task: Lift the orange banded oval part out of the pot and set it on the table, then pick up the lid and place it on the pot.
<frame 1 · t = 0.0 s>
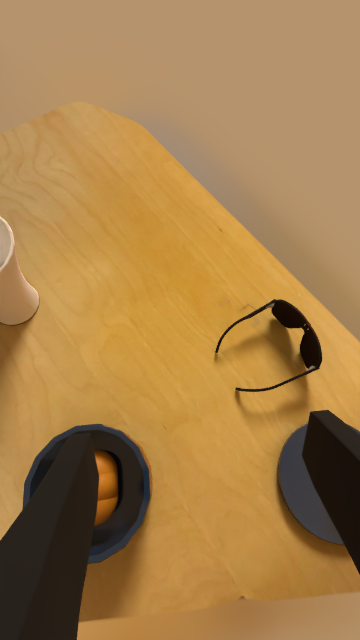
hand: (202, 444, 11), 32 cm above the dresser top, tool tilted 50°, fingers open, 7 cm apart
sunglasses: (261, 353, 45), on the dresser top
pot: (99, 484, 38), on the dresser top
lid: (333, 477, 39), point 1 cm above the dresser top
orange banded oval part: (98, 484, 38), resting on pot
cup: (16, 304, 47), on the dresser top
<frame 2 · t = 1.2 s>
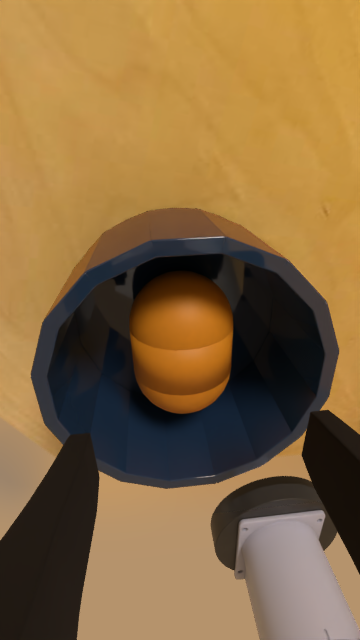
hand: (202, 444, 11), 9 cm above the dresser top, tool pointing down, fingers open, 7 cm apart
pot: (176, 317, 19), on the dresser top
orange banded oval part: (177, 321, 19), resting on pot
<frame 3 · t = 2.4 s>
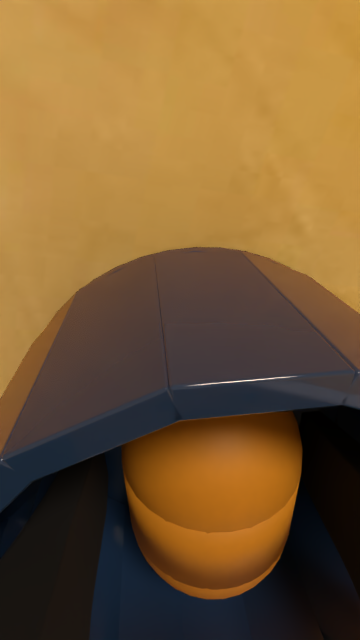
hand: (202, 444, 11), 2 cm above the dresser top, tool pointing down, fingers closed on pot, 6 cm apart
pot: (195, 404, 13), on the dresser top
orange banded oval part: (197, 413, 12), resting on pot
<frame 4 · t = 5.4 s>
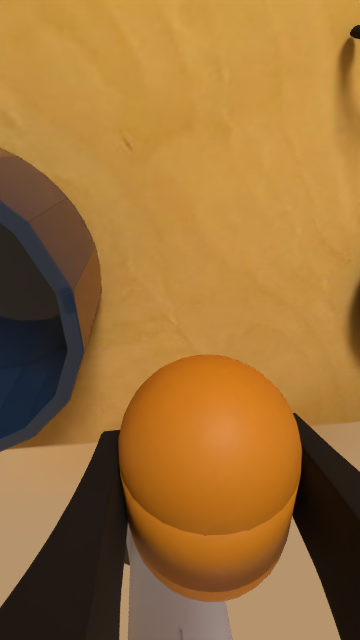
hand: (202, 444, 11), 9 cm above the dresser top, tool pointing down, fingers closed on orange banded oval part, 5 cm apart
orange banded oval part: (195, 413, 12), point 8 cm above the dresser top, touching gripper
when the fingers open (1 cm above the dresser top, at t = 8.0 s): orange banded oval part stays where it is, on the dresser top.
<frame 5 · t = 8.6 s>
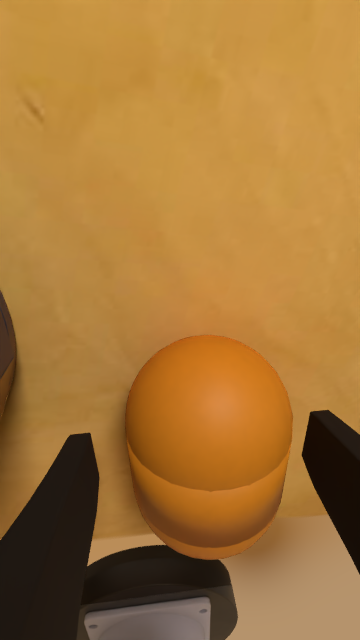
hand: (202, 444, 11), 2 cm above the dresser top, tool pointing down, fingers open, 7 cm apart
orange banded oval part: (192, 394, 13), on the dresser top
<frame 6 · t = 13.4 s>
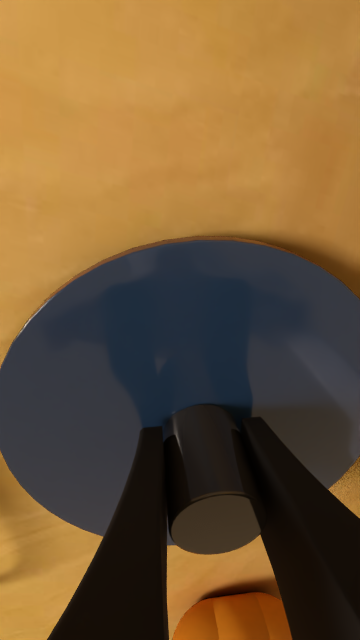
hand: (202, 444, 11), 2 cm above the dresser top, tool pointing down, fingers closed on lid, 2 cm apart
lid: (197, 422, 12), point 1 cm above the dresser top, touching gripper
orange banded oval part: (229, 611, 19), on the dresser top, tilted 21°
when the fingers open (7 cm above the dresser top, at t = 18.1 s): lid stays where it is, resting on pot.
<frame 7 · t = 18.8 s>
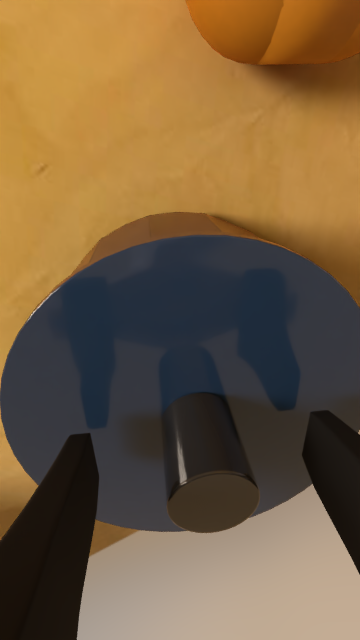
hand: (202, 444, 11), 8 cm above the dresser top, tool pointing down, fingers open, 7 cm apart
pot: (178, 327, 18), on the dresser top
lid: (194, 410, 12), point 6 cm above the dresser top, touching pot
orange banded oval part: (274, 43, 12), point 1 cm above the dresser top, tilted 38°
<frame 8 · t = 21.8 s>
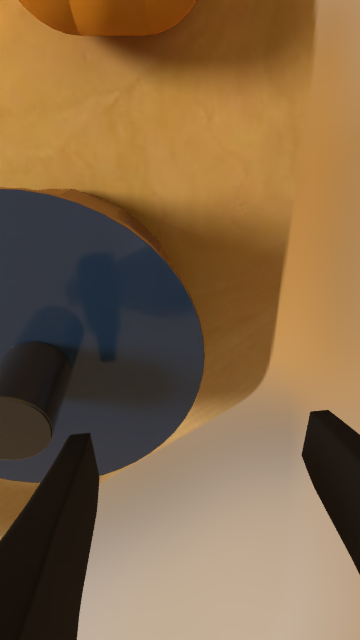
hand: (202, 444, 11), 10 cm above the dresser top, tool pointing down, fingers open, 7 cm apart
pot: (71, 301, 19), on the dresser top
lid: (41, 362, 13), point 6 cm above the dresser top, touching pot
orange banded oval part: (113, 24, 13), point 1 cm above the dresser top, tilted 46°
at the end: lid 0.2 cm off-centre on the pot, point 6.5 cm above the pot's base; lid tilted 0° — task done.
